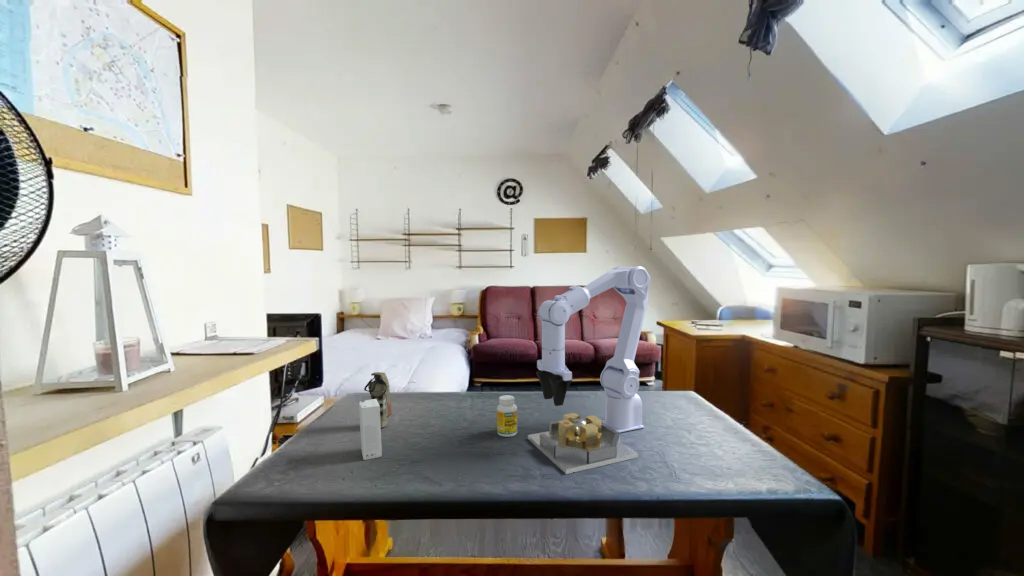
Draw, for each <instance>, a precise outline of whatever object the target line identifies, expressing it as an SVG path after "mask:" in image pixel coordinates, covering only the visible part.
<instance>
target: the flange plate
mask: <svg viewBox="0 0 1024 576" xmlns="http://www.w3.org/2000/svg"><path fill="white" fill-rule="evenodd" d="M563 420H564V419H561V420H556V421H549V422H548V423H549V425H548V426H549V428H548V430H549V431H548V430H547V431H543V432H538V433H532V434H527V440H529V442H530V443H532V444H533V445H534V446H535V447H536V448H537V449H538V450H539V451H540V452H542V454H543V455H545V456H546V457H547V458H548V459H549V460H550V461H551V462H552V463H553V464H555V466H556V467H558V468H559V470H561V471H562V472H563V473H564V474H565V475H568V474H573V472H574V473H578V472H581V471H585V470H586V471H587V470H590V469H594V468H598V467H603V466H606V465H611V464H615V463H620V462H624V461H628V460H633V459H636V458H639V452H638V451H636V450H634V449H633V448H630V447H629V446H628V445H625V444H624V443H622V441H621V432H620V433H619V432H618V431H616V430H614V429H613V428H611V427H609V426H608V425H606V424H604V423H601V433H602V444H601V447H596V448H592V449H581V448H575V447H569V446H563V445H560V444H559V442H558V432H559V421H563ZM585 424H586V420H585V419H584V418H580V419H575V420H574V436H575V437H580V425H585Z"/></svg>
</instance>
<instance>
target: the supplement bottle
mask: <svg viewBox="0 0 1024 576" xmlns="http://www.w3.org/2000/svg"><path fill="white" fill-rule="evenodd" d="M498 402H499V404H497V407H496V420H497V421H496V428H497V429H496V430H497V431H496V432H497V435H498V436H500V437H503V438H504V437H505V438H507V437H509V438H510V437H514V436H516V435H517V433H518V406H517V405H516V404H515V397H514V396H513V395H508V394H507V395H500V396H499V401H498Z"/></svg>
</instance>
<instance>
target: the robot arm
mask: <svg viewBox="0 0 1024 576" xmlns="http://www.w3.org/2000/svg"><path fill="white" fill-rule="evenodd" d="M651 280H652V278H651V276H650V274H649V273H648V271H647V269H646V268H645V267H644V266H641V265H640V266H615V267H612V269H609V270H607V271H606V272H605V273H603V274H602V275H600V276H599V277H598V278H595V279H594V280H593V281H591V282H590V283H587V284H586V285H585V286H584V287H582V286H578V285H577V286H576V285H571V286H570V287H568V289H569V290H568V291H565V292H564V293H562V294H560V295H559V294H557V295H554V299H553V300H551V299H548V300H545V301H542V303H541V305H540V306H539V308H538V311H537V312H536V313H537V317H538V319H539V320H540V322H541V359H538V360H536V368H537V369H538V370H537V371H536V372H535V374H536V376H537V378H538V380H539V384H540V387H541V392H542V395H543V399H544V400H549V399H553V404H554V406H555V407H559V406H560V407H561V406H563V405H564V402H565V398H566V396H567V392H568V389H569V387H570V385H571V383H572V382H573V372H572V371H570V370H569V368H568V367H567V365H566V360H565V359H566V348H565V347H566V323H567V322H568V321H569V319H570V317H571V316H572V315H574V314H576V313H577V312H579V311H580V310H583V309H584V308H586V307H587V306H589V305H590V302H591V301H590V299H592V298H594V297H595V296H598V295H599V294H602V293H604V292H606V291H609V290H610V289H612V288H613V289H614V290H615V291H616V292H617V293H618V294H620V295H621V297H623V299H624V301H625V304H626V305H625V308H624V312H623V317H622V320H621V325H620V329H619V332H618V338H617V341H616V345H615V350H614V354H613V356H612V357H611V358H610V359H608V360H607V361H606V363H605V366H604V368H603V370H602V371H601V373H600V377H599V381H600V384H601V386H602V387H603V388H604V391H603V392H605V419H603V420H602V419H601V423H604V424H606V425H608V426H609V427H611V428H613V429H614V430H616V431H618V432H619V433H620V434H621V433H624V432H629V431H634V430H640V429H643V428H645V426H644V425H643V402H642V399H641V396H640V395H639V394H638V393H637V392H638V391H639V388H640V379H639V377H640V372H641V371H640V370H639V368H638V366H637V365H636V363H635V358H636V354H637V350H638V346H639V342H640V341H639V340H640V337H641V334H642V333H641V332H642V328H643V324H644V320H645V317H646V311H647V306H648V303H649V289H650V284H651Z"/></svg>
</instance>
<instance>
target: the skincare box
mask: <svg viewBox="0 0 1024 576" xmlns="http://www.w3.org/2000/svg"><path fill="white" fill-rule="evenodd" d="M358 412H359V415H358V416H359V430H360V448H361V454H362V459H363V460H364V461H365V460H366V461H367V460H373V459H378V458H382V456H383V450H382V429H381V424H380V406H379V404H378V402H377V399H371V398H370V399H367V400H366V399H365V400H360V401H359V402H358Z"/></svg>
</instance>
